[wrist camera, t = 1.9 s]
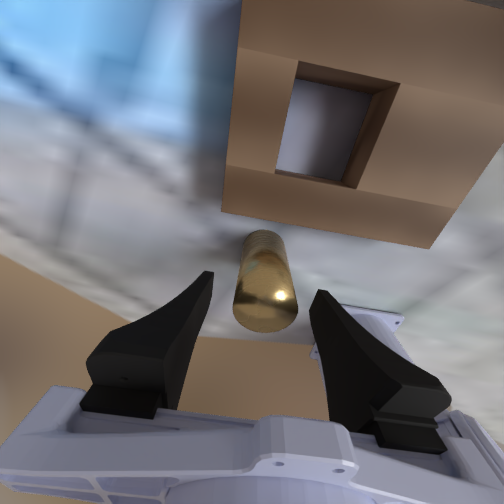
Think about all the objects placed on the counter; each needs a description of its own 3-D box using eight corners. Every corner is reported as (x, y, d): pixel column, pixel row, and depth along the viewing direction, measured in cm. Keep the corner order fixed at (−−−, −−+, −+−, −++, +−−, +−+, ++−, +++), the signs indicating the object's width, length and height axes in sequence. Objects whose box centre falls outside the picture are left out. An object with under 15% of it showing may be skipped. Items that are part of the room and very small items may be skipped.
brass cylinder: (279, 269, 20) (288, 336, 13) (240, 262, 20) (229, 327, 13) (289, 234, 18) (306, 291, 11) (246, 226, 18) (237, 279, 11)
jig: (404, 233, 18) (429, 249, 15) (227, 201, 17) (221, 211, 14) (512, 53, 12) (582, 29, 9) (250, -8, 11) (247, -54, 9)
